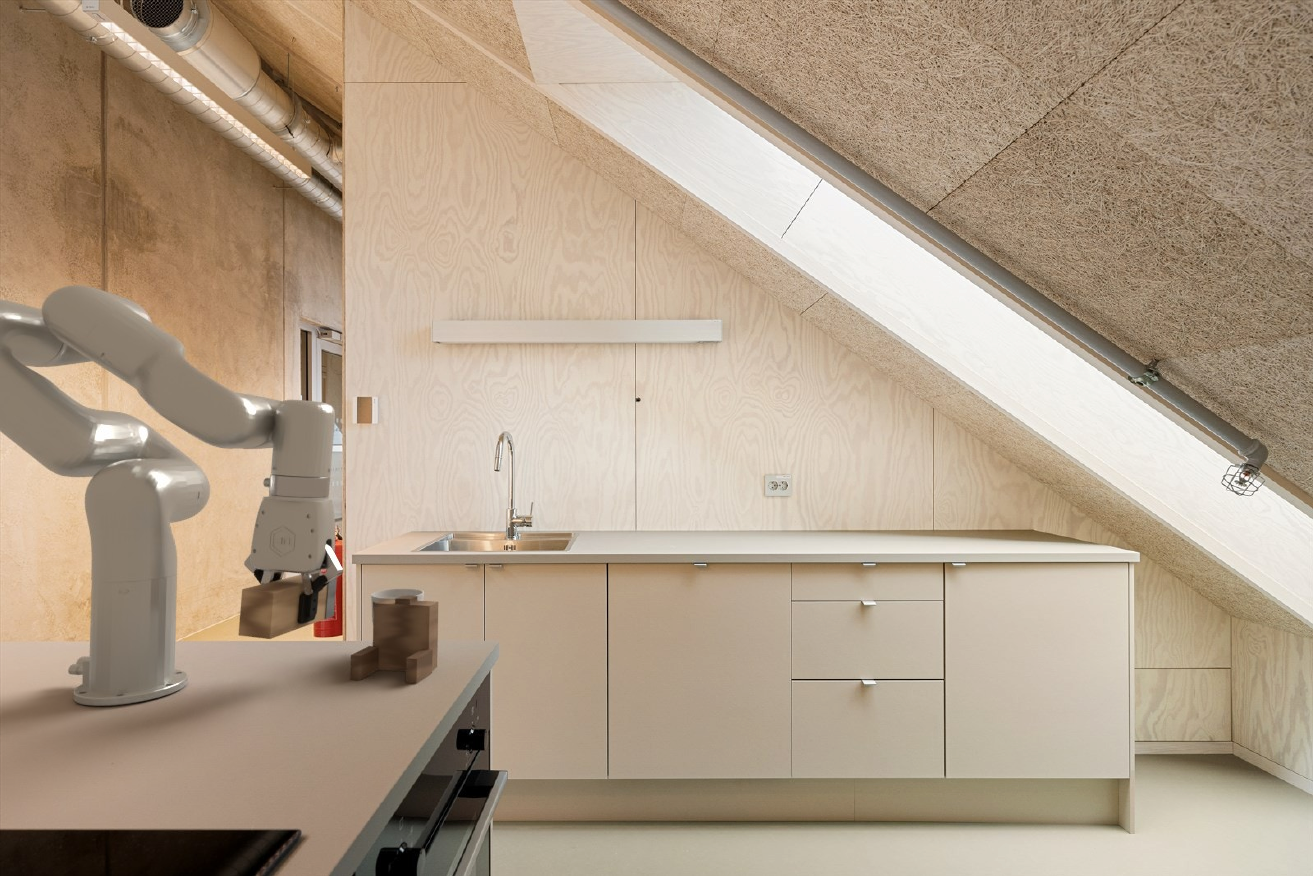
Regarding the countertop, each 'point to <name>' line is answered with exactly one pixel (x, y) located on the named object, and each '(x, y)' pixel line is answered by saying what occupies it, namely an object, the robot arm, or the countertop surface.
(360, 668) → the wooden footed block
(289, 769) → the countertop surface
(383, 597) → the cup
